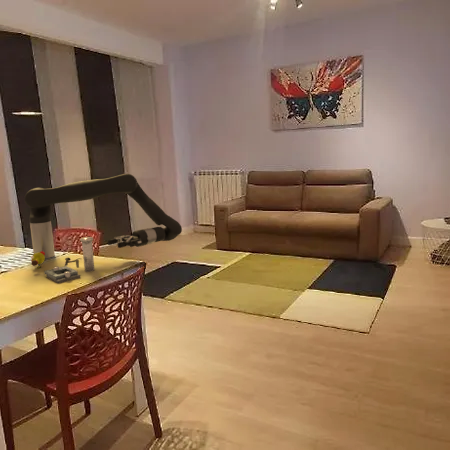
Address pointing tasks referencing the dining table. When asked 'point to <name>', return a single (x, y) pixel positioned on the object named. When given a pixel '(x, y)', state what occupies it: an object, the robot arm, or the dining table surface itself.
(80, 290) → the dining table surface
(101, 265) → the dining table surface
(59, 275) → the chain end upper
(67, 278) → the chain end lower
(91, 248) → the steel pin
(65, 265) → the hacksaw
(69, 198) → the robot arm
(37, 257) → the toy figure
